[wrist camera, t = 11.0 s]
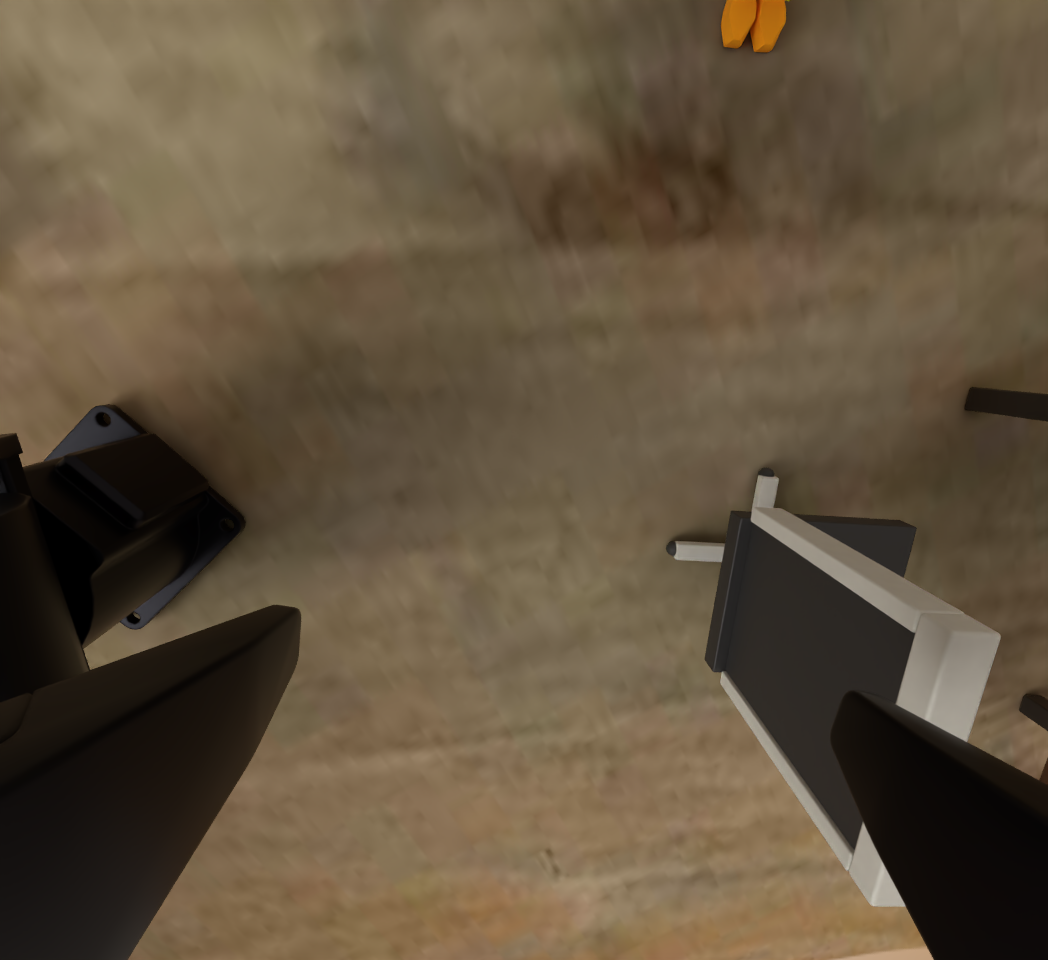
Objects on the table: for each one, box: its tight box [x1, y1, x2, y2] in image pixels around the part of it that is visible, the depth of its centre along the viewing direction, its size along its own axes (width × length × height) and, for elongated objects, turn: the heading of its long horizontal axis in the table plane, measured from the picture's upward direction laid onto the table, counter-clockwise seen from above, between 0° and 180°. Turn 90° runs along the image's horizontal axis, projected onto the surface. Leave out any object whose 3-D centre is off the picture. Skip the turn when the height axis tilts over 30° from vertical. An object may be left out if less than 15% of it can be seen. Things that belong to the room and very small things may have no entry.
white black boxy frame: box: [666, 468, 1001, 907], centre depth 17 cm, size 7×7×12 cm
